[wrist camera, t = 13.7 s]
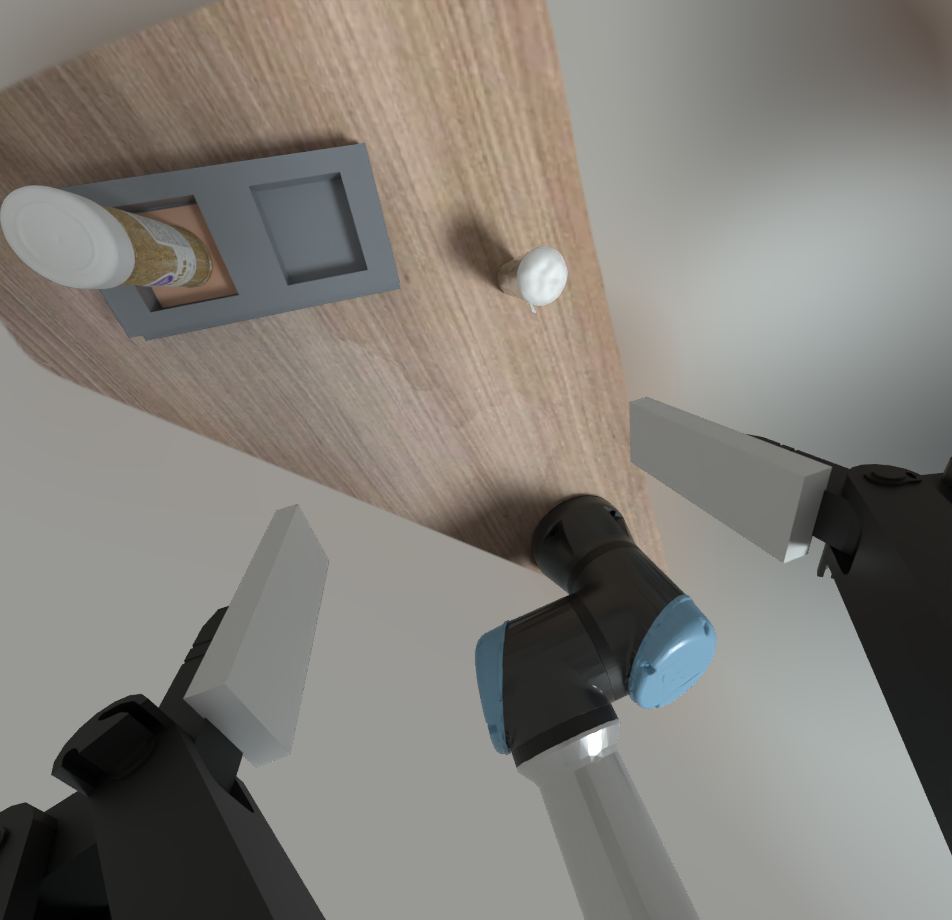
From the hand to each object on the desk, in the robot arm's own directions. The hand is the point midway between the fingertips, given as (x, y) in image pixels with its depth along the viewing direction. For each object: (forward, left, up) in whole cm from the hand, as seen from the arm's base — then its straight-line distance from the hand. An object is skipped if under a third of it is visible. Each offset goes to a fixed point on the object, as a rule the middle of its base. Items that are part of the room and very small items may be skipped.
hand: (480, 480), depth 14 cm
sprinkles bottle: (+12, +17, -28) cm, 34 cm away
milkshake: (+5, -12, -29) cm, 32 cm away
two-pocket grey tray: (+12, +11, -29) cm, 33 cm away
